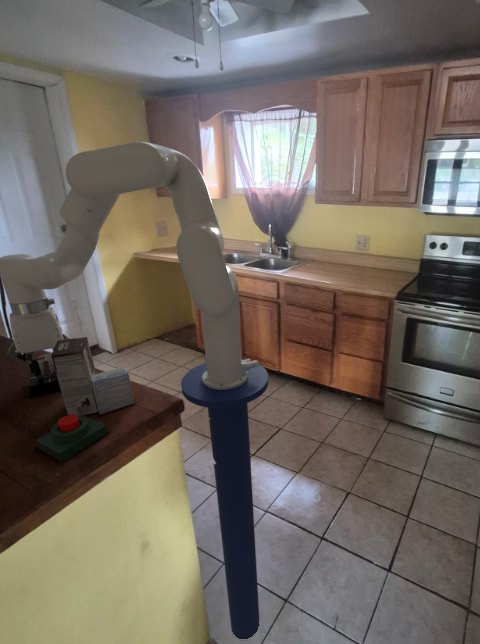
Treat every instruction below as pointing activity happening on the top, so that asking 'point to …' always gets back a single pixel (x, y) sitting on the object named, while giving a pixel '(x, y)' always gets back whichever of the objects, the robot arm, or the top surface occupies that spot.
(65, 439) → the switch block
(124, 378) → the medicine box
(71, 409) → the coffee box
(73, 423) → the light button
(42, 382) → the dial panel
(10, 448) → the top surface
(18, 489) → the top surface
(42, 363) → the dial
